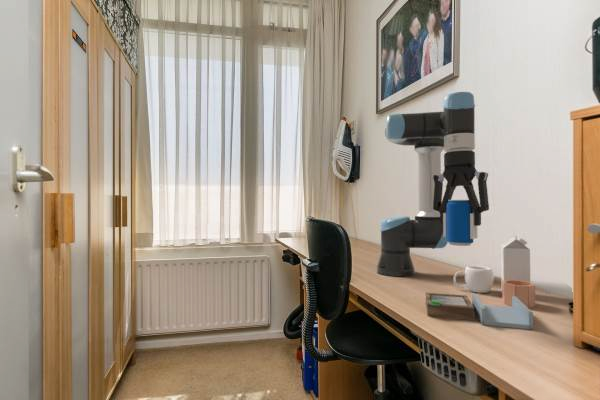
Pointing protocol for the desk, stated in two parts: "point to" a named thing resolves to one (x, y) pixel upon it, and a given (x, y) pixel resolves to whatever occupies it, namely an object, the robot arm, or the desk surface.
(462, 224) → the beverage can
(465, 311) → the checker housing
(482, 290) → the mug
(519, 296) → the cup
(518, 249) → the milk carton
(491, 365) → the desk surface
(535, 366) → the desk surface
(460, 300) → the grey flat square plate
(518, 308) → the trough
